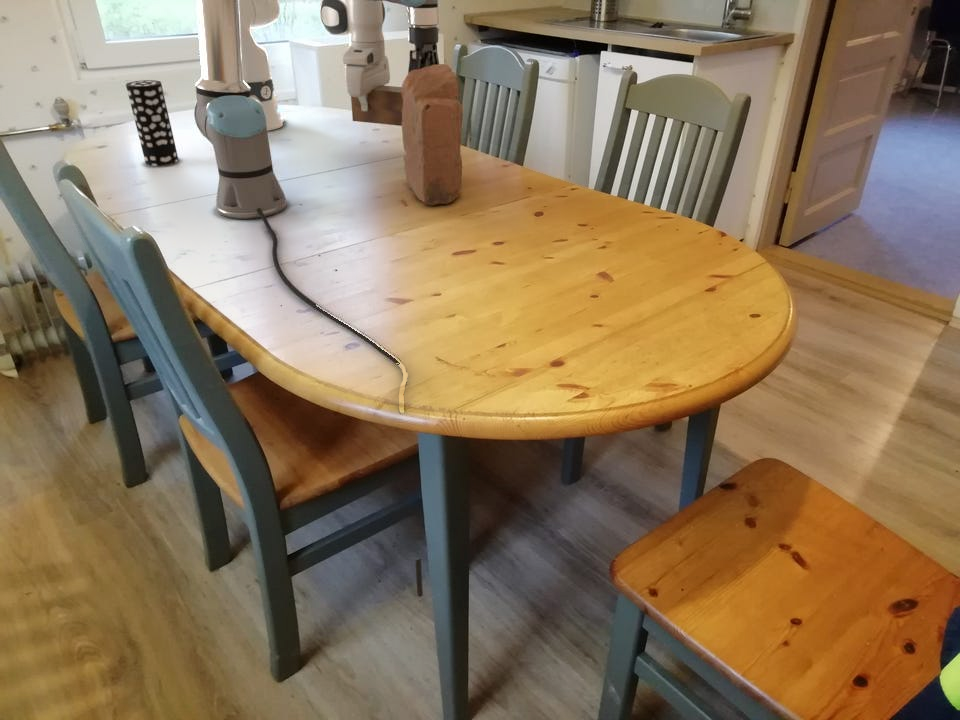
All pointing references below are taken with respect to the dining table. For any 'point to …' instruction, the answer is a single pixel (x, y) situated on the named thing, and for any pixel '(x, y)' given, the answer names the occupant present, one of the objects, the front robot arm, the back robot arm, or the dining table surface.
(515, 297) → the dining table surface
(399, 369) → the dining table surface
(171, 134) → the black white spotted cylinder
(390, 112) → the box
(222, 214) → the front robot arm
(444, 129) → the stone
